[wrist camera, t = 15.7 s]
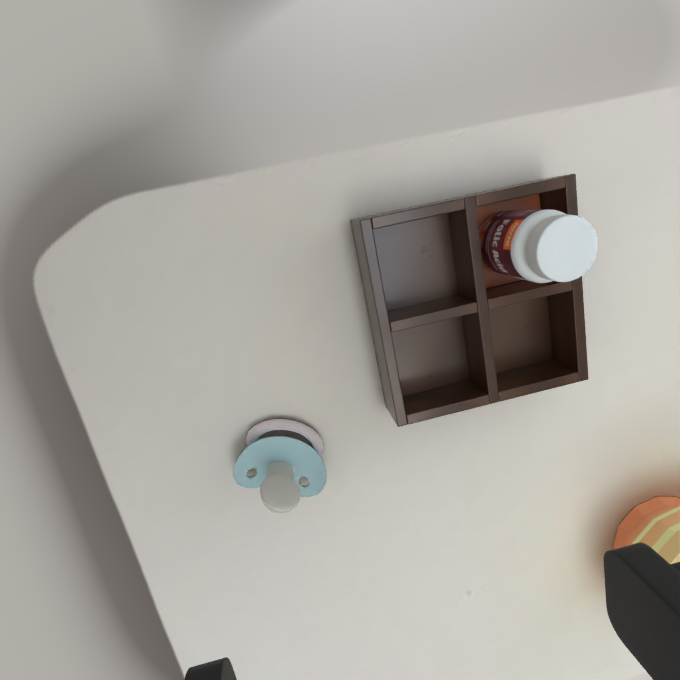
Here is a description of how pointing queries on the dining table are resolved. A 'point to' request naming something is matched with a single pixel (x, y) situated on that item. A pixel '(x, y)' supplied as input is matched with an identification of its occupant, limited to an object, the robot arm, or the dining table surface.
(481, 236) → the pill bottle
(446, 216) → the grid
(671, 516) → the potted cactus
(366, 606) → the dining table surface
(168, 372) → the dining table surface
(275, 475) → the pacifier
